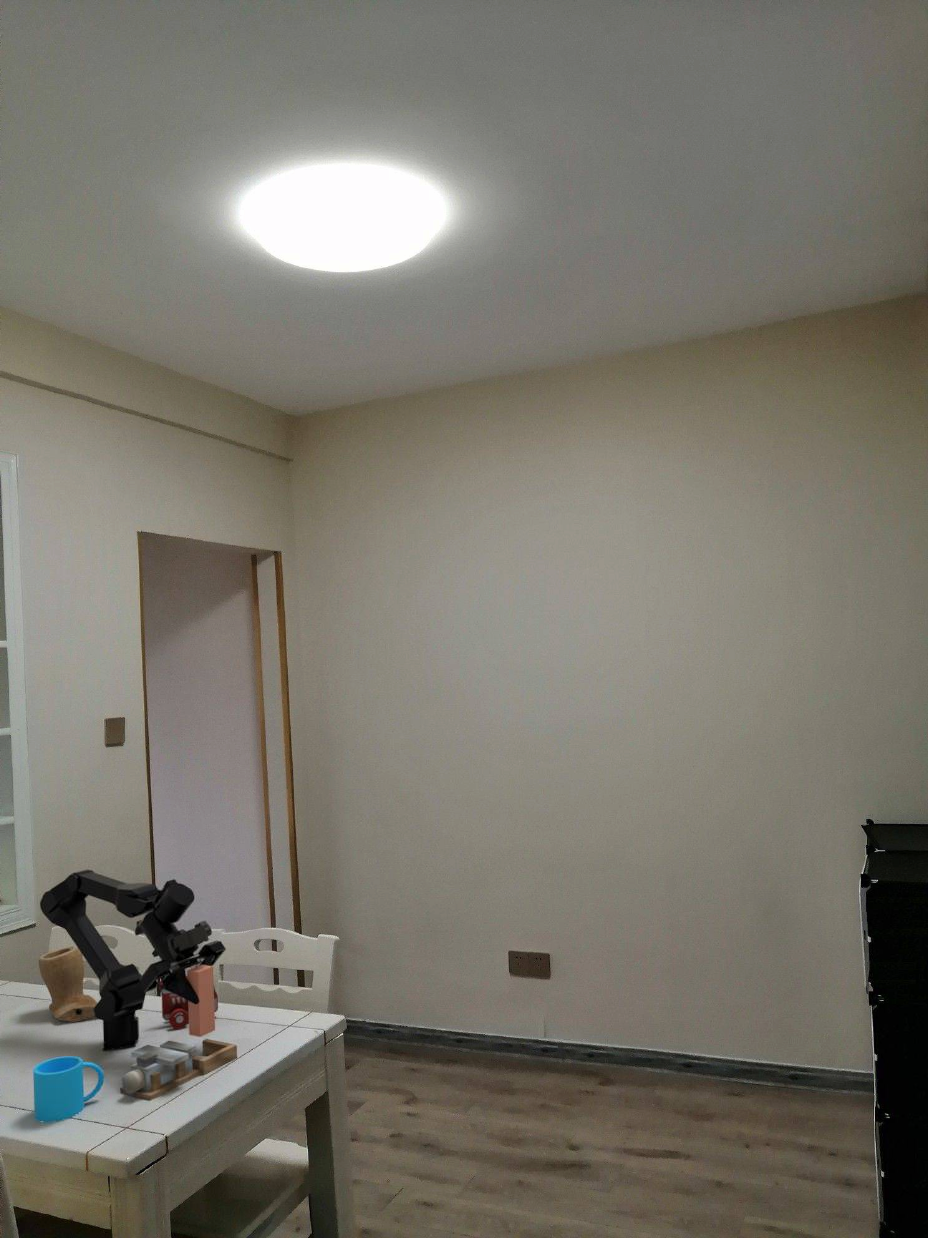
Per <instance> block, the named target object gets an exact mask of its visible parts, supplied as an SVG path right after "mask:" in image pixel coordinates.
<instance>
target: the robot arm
mask: <svg viewBox="0 0 928 1238" xmlns="http://www.w3.org/2000/svg"><path fill="white" fill-rule="evenodd" d="M89 896H90V897H93V898H95V899H97V900H98V899H99V900H101V901H104V902H107V903H109V904H112V905H114V907H115V908H116V911H117V912H119V913H120V914H121V915H123V916H125V917H127V918H130V919H133V918H136V917H140V916H142V915H144V916H143V918H142V919H140V920H137V921H136V927H135V928H134V929H135V930H134V934H135V936H140V935H143V934H144V935H145V937H146V939H147V940H148V941H149V943H150V945H151V946H152V948H153V951H152V952H151V955H152V956H153V957H154V958H156V957H159V959H160V960H159V961H156V962H153V963H151V964H149V965H148V967H147V969H145V971H144V972H143V974H141V973H140V972H139V970H138V969H137V967H136V965H135V964H134V963H130V964H127V965H123V964H121V963H120V961H119V960H118V958H117V957H116V956H115V954H114V952H113V951H112V950H111V948H110V947H109V946H108V944H107V943H106V941H105V940H104V939H103V938H104V937H102V935H101V934H100V932H99V931H98V929H97V928H96V927H95V925H94V924H93V922H92V921H91V920H90V918H89V916H88V915H87V901H86V899H87V898H88V897H89ZM194 900H195V894H194V891H193V889H192V888H190V887H188V886H187V885H185V884H184V883H180V882H177V880H176V879H175V878H173V879H170V880H166V882H165V884H164V885H163V888H162V889H158V887H157V886H156V885H155V884H153V883H146V882H145V883H144V882H139V883H135V882H134V883H126V882H123V881H121V880H117V879H115V878H111V877H109V876H106V875H102V874H99V873H96V872H95V871H93V870H92V869H84V870H79V871H75V872H72V873H70V875H68V876H67V877H66V878H65V879H64V880H62V881H61V882H59V883H58V884H57V885H54V887H52V888H50V889H49V890H47V891H45V892H44V893H43V894H42V897H41V899H40V902H39V907H40V911H41V912H42V914H43V915H44V916H45V917H46V919H48V921H49V922H50V923H51V924H53V925H55V926H58V927H59V928H61V929H64V930H65V931H66V932H67V934H68V935H69V937H70V938H71V940H72V941H73V943H74V944H75V945H76V946H75V947H78V949H79V950H80V952H81V953H82V956H83V959H85V961H86V962H87V964H88V965H89V967H90V968H91V970H92V971H93V972H94V974H95V975H96V976H97V978H98V982H99V984H98V985H99V988H98V995H99V996H100V999H99V1000H98V1002H97V1005H96V1006H95V1007H94V1014H95V1015H94V1016H95V1019H96V1020H99V1021H102V1030H103V1031H102V1032H103V1036H102V1037H103V1045H102V1047H101V1048H102V1051H110V1050H111V1051H112V1050H118V1049H125V1048H132V1047H133V1048H134V1047H136V1044H137V1041H138V1040H139V1039H140V1026H139V1023H140V1022H139V1019H140V1018H139V1016H136V1011H139V1010H142V1009H143V1007H144V1003H145V1000H146V999H145V998H146V996H147V995H146V994H147V993H148V992H151V991H153V990H155V989H156V988H157V987H158V981H157V980H160V981H161V980H162V983H163V984H162V986H161V987H160V989H161V990H167V991H169V992H172V993H174V994H176V995H178V996H180V997H182V998H184V999H186V1000H188V1001H190V1002H192V1003H194V1004H196V1005H197V1004H198V1003H199V1002H200V1000H199V998H198V996H197V994H196V992H195V991H194V989H193V987H192V986H191V984H190V983H189V981H188V979H187V978H186V975H187V974H186V973H187V972H186V969H192V968H195V967H198V966H200V965H207V966H213V967H214V965H215V964H216V962H217V961H218V960H219V959H220V958H221V956H222V955H223V954H224V953H225V951H226V950H227V949H226V946H225V945H224V944H223V942H222V941H221V940H214V941H212V942H211V941H210V942H208V941H209V940H210V938H209V937H210V936H211V935H212V934H213V931H212V928H211V926H210V925H209V923H208V922H207V921H206V920H203V921H200V922H199V923H196V924H195V925H194V928H191V929H188V930H187V931H186V930H185V929H183V928H182V929H178V928H177V926H176V924H175V923H178V922H179V921H180V920H181V919H182V917H184V915H185V913H186V912H187V911H188V909H189V908H190V907H191V906H192V904H193V902H194ZM204 942H208V943H205V944H204V945H203V946H202V947H201V948H200V950H199V951H198V952H197V950H198V949H199V947H200V946H199V945H200V944H202V943H204ZM195 952H197V953H196V954H195ZM215 991H216V988H215V987H214V996H215V995H216V993H217V992H215Z"/></svg>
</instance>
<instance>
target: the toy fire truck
mask: <svg viewBox="0 0 928 1238" xmlns="http://www.w3.org/2000/svg"><path fill="white" fill-rule="evenodd" d="M186 978H187V974H186ZM187 979H188V978H187ZM158 983H159V984H158V985H159V989H158V990H159V993H161V1013H162V1014H161V1017H162V1019H163V1020H165V1021H166V1022H167V1021H168V1022H169V1025H170V1027H171V1028H173V1029H174V1030H182V1029H183V1028H185V1027H186V1026H187V1024H189V1010H188V1000H186V999H184V998H182V997H180V996H178V995H176V994H174V993H172V992H169V991H167V990H161V989H160V987H161V986H162V984H163V983H162V980H161V979H160V981H159V982H158ZM215 992H216V990H215ZM218 1009H219V996H218V994H217V992H216V995H215V996H214V1011H215V1013H217V1012H218ZM181 1028H182V1029H181Z"/></svg>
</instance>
